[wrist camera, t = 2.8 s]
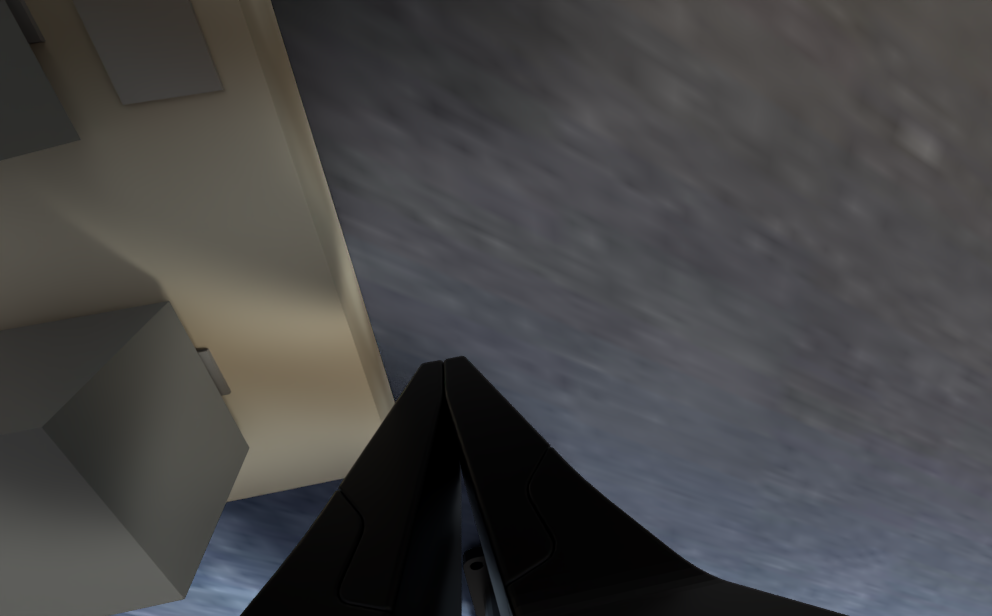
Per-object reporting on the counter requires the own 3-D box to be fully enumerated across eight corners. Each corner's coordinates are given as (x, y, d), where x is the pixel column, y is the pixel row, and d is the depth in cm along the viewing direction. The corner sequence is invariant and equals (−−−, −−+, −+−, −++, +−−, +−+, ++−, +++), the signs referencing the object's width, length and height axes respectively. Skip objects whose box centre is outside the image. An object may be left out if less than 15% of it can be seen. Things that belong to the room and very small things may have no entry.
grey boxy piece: (249, 447, 11) (184, 599, 8) (73, 482, 11) (-64, 652, 8) (169, 300, 9) (40, 428, 6) (-50, 339, 9) (-298, 490, 6)
